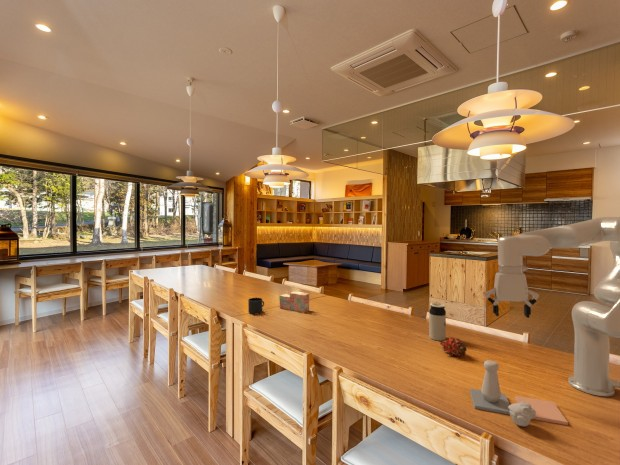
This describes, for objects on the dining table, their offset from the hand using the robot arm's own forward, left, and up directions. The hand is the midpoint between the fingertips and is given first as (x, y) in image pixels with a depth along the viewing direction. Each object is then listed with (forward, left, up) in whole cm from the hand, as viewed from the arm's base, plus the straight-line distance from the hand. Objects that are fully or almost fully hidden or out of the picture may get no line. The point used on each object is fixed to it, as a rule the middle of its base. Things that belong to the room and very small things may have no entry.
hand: (511, 315), depth 113 cm
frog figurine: (+3, +24, -27) cm, 36 cm away
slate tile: (+9, +14, -27) cm, 31 cm away
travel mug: (+24, -42, -27) cm, 55 cm away
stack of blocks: (+117, -67, -27) cm, 137 cm away
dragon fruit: (+18, -23, -27) cm, 40 cm away
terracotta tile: (-5, +14, -27) cm, 30 cm away
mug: (+139, -53, -27) cm, 151 cm away
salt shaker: (+9, +14, -26) cm, 31 cm away
